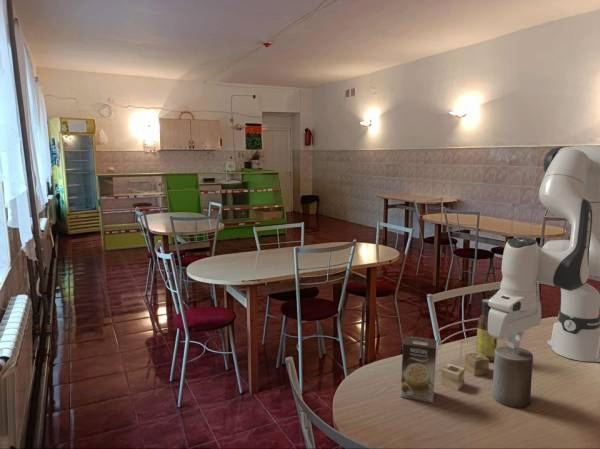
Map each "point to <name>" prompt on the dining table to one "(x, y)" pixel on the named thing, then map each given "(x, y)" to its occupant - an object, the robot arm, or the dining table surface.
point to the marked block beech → (452, 376)
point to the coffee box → (418, 368)
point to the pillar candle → (512, 376)
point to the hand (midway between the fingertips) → (513, 346)
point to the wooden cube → (476, 364)
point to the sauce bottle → (485, 334)
